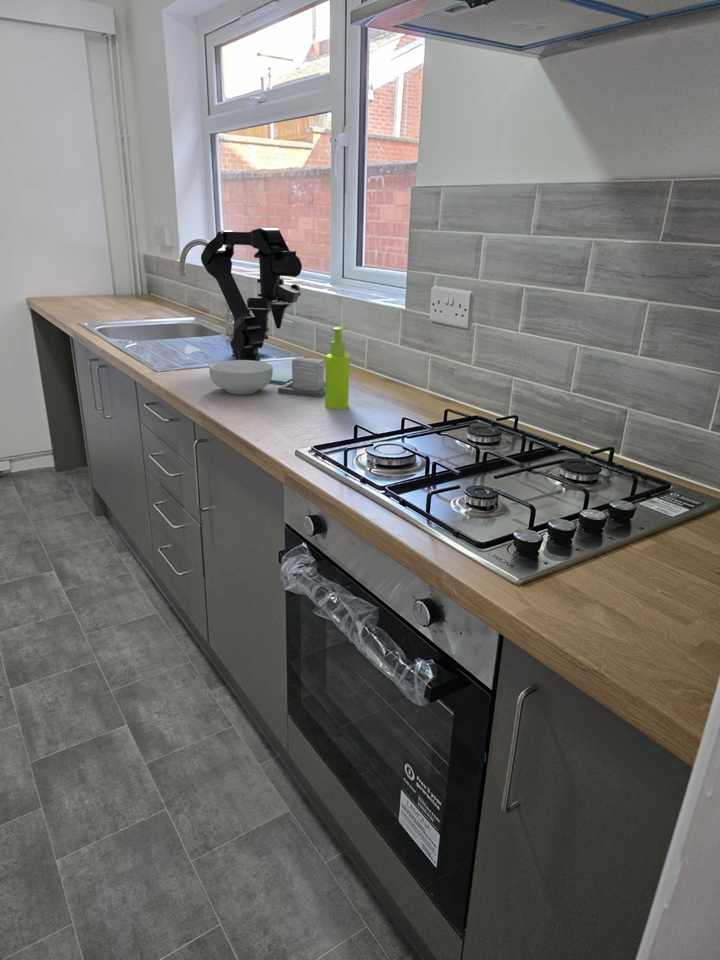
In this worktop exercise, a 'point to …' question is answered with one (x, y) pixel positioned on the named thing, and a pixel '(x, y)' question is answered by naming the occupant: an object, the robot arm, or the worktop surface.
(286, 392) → the hollow square frame
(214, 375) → the cereal bowl
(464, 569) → the worktop surface
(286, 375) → the board
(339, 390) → the soap dispenser
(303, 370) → the medicine box
